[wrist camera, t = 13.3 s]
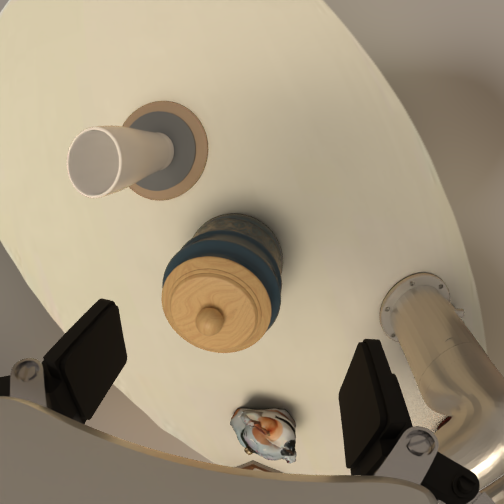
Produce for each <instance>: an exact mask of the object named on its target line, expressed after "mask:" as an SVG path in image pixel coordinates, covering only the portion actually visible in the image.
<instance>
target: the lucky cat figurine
mask: <svg viewBox="0 0 504 504" xmlns="http://www.w3.org/2000/svg"><path fill="white" fill-rule="evenodd" d="M230 425H231V426H232V427H233V429H234V431H235V432H236V434H237V438H238V440H239V442H240V444H241V445H242V446H243V447H245V452H246V453H247V454H248V455H251V454H252V453H255V454H258V455H260V456H263V457H264V458H265V459H268V460H279V459H285V460H286V461H287V463H293V462H295V461H296V451H295V443H296V439H295V438H296V435H295V426H296V425H295V421H294V420H293V419H292V418H291V416H290V415H289V413H288V412H287V411H286V410H285V409H283V410H279V409H277V408H274V409H265V410H254V409H240V408H239V409H237V410H236V412H235V413H234V415H233V417H232V418H231V421H230Z"/></svg>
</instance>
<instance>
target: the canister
mask: <svg viewBox="0 0 504 504" xmlns="http://www.w3.org/2000/svg"><path fill="white" fill-rule="evenodd" d="M282 268H283V256H282V251H281V247H280V245H279V242H278V240H277V239H276V237H275V235H274V234H273V232H272V231H271V230H270V229H269V228H268V227H267V226H266V225H265V224H264V223H262V222H261V221H259V220H257V219H255V218H253V217H251V216H247V215H243V214H226V215H221V216H218V217H215V218H213V219H211V220H209V221H208V222H206V223H205V224H204V225H203V226H202V227H201V228H200V229H199V230H198V231H197V232H196V233H195V235H194V236H193V238H192V239H191V240H189V241H188V242H187V243H186V244H185V245H184V246H183V247H182V248H181V250H180V251H179V252H178V253H177V254H176V255H175V256H174V257H173V258H172V259H171V260H170V262H169V264H168V265H167V267H166V270H165V273H164V277H163V286H162V288H163V290H162V306H163V310H164V313H165V316H166V318H167V320H168V322H169V323H170V325H171V326H172V328H173V329H174V330H175V331H176V332H177V333H178V334H179V335H180V336H181V337H182V338H183V339H185V340H186V341H187V342H189V343H191V344H192V345H194V346H196V347H198V348H201V349H204V350H207V351H211V352H218V353H230V352H236V351H240V350H243V349H246V348H248V347H250V346H252V345H253V344H255V343H256V342H257V341H258V340H260V339H261V337H262V336H263V335H264V334H265V332H266V331H267V330H268V329H269V328H270V327H271V326H272V325H273V323H274V322H275V320H276V318H277V316H278V313H279V310H280V305H281V289H282V279H281V273H282Z"/></svg>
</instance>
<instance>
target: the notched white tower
mask: <svg viewBox="0 0 504 504" xmlns="http://www.w3.org/2000/svg"><path fill="white" fill-rule="evenodd" d="M235 468H241V469H248V470H255V471H264V472H274V473H283V472H280V471H277V470H275V469H272V468H270V467H267V466H265V465H263V464H260V463H258V462H256V461H250V462H248V463H245V464H243V465H240V466H237V467H235Z"/></svg>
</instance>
